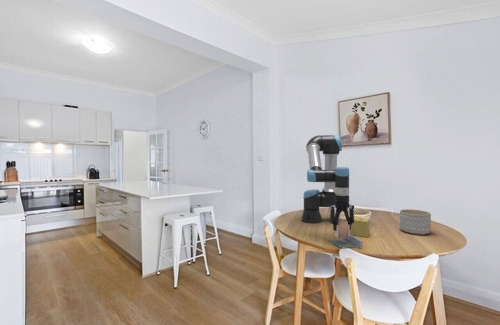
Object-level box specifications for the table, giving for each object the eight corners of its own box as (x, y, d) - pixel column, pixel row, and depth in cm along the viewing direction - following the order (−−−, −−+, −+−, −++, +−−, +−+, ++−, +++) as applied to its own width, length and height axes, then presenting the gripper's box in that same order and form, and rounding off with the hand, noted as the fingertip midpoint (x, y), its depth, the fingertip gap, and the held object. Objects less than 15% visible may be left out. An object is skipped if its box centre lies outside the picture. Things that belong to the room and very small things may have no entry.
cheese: (369, 233, 155) (369, 217, 154) (368, 238, 145) (368, 221, 145) (352, 230, 160) (352, 215, 160) (349, 235, 151) (349, 219, 151)
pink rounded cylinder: (334, 234, 138) (334, 219, 138) (344, 234, 139) (344, 218, 139) (339, 238, 132) (339, 222, 132) (349, 237, 133) (349, 221, 133)
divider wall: (344, 238, 145) (344, 231, 145) (345, 238, 145) (345, 231, 145) (360, 248, 129) (360, 241, 129) (362, 248, 129) (362, 241, 129)
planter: (436, 236, 147) (436, 215, 146) (406, 235, 150) (406, 214, 150) (422, 228, 163) (422, 209, 162) (395, 227, 166) (395, 208, 166)
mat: (329, 240, 141) (329, 239, 141) (343, 239, 143) (343, 238, 143) (340, 248, 129) (340, 247, 129) (355, 247, 131) (355, 246, 131)
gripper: (329, 196, 130) (329, 239, 131) (361, 195, 133) (361, 237, 133) (322, 194, 138) (323, 234, 138) (353, 193, 140) (353, 232, 141)
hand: (342, 235), depth 136 cm, fingers closed on pink rounded cylinder, 6 cm apart
